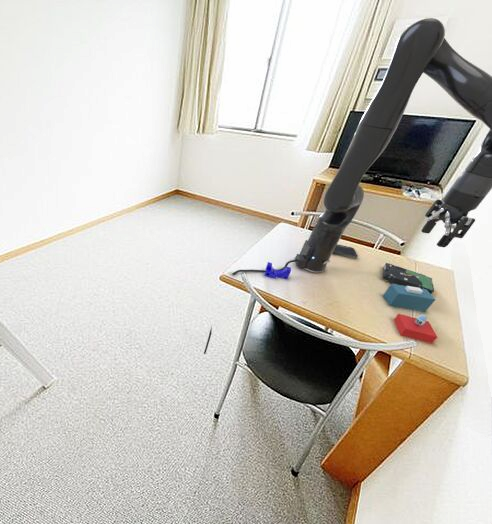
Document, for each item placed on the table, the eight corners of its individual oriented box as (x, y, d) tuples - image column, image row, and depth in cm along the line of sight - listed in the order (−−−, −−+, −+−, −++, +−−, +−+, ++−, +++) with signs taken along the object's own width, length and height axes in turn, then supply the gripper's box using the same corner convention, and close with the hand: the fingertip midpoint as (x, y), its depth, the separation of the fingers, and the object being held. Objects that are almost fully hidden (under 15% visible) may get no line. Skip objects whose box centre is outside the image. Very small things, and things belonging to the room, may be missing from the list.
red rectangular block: (400, 334, 90) (412, 320, 87) (393, 319, 96) (404, 305, 92) (431, 343, 88) (445, 328, 85) (423, 327, 93) (435, 313, 90)
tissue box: (425, 311, 100) (438, 296, 96) (389, 305, 101) (400, 290, 97) (416, 301, 104) (428, 286, 100) (382, 295, 105) (393, 280, 102)
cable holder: (264, 275, 110) (267, 267, 108) (264, 270, 113) (267, 262, 111) (287, 281, 108) (291, 272, 106) (286, 276, 111) (290, 267, 109)
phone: (316, 239, 133) (353, 247, 130) (315, 242, 134) (352, 249, 130) (318, 248, 127) (358, 257, 123) (317, 250, 128) (356, 259, 124)
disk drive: (381, 280, 113) (430, 296, 107) (385, 274, 112) (435, 290, 105) (382, 268, 120) (428, 282, 114) (385, 262, 119) (432, 276, 112)
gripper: (439, 178, 90) (407, 226, 99) (471, 197, 78) (432, 249, 88) (467, 182, 89) (432, 230, 98) (504, 201, 77) (460, 253, 87)
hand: (432, 239), depth 93 cm, fingers open, 8 cm apart
